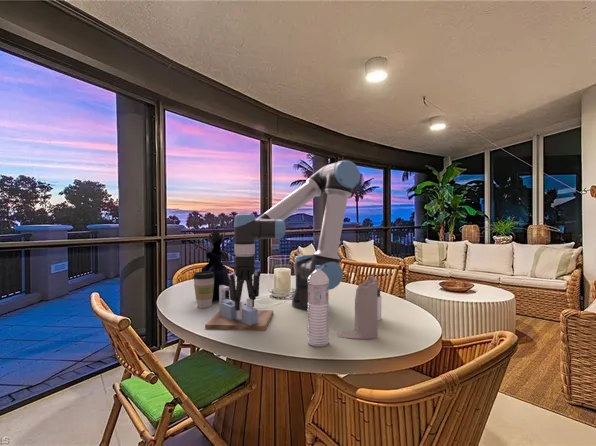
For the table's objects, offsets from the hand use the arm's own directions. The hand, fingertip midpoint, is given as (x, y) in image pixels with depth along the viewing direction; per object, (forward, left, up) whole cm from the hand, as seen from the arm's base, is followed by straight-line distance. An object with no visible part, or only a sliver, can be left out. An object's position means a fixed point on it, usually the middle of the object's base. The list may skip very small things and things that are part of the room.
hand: (244, 317), depth 120 cm
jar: (-48, -10, -3) cm, 49 cm away
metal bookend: (-41, +8, -3) cm, 42 cm away
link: (+3, -3, -1) cm, 5 cm away
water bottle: (-28, +16, -3) cm, 32 cm away
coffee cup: (+24, -23, -3) cm, 34 cm away
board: (+2, -4, -3) cm, 6 cm away
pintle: (+5, -5, -3) cm, 8 cm away
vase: (+23, -36, -3) cm, 43 cm away
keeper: (+11, -11, -3) cm, 15 cm away
